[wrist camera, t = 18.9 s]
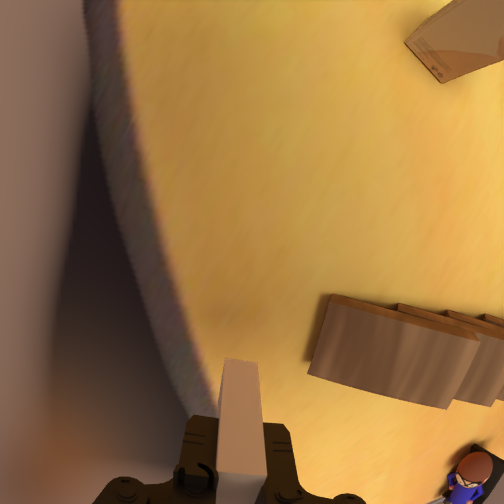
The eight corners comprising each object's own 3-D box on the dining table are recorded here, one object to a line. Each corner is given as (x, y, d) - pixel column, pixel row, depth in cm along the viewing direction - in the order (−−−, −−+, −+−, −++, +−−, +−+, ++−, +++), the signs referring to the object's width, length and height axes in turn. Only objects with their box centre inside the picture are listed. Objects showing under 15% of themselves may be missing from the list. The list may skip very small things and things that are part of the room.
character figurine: (430, 499, 31) (451, 445, 27) (468, 482, 30) (495, 425, 27) (443, 534, 23) (474, 488, 20) (483, 514, 22) (520, 461, 19)
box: (440, 85, 18) (547, 50, 7) (401, 42, 17) (494, -22, 6) (467, 53, 17) (560, 17, 6) (432, 13, 16) (514, -42, 5)
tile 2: (372, 377, 21) (490, 406, 17) (398, 310, 20) (522, 345, 16) (375, 366, 23) (486, 395, 18) (398, 302, 21) (515, 336, 17)
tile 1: (307, 373, 21) (446, 409, 17) (329, 301, 19) (480, 342, 16) (312, 362, 22) (443, 396, 19) (333, 293, 21) (473, 331, 17)
